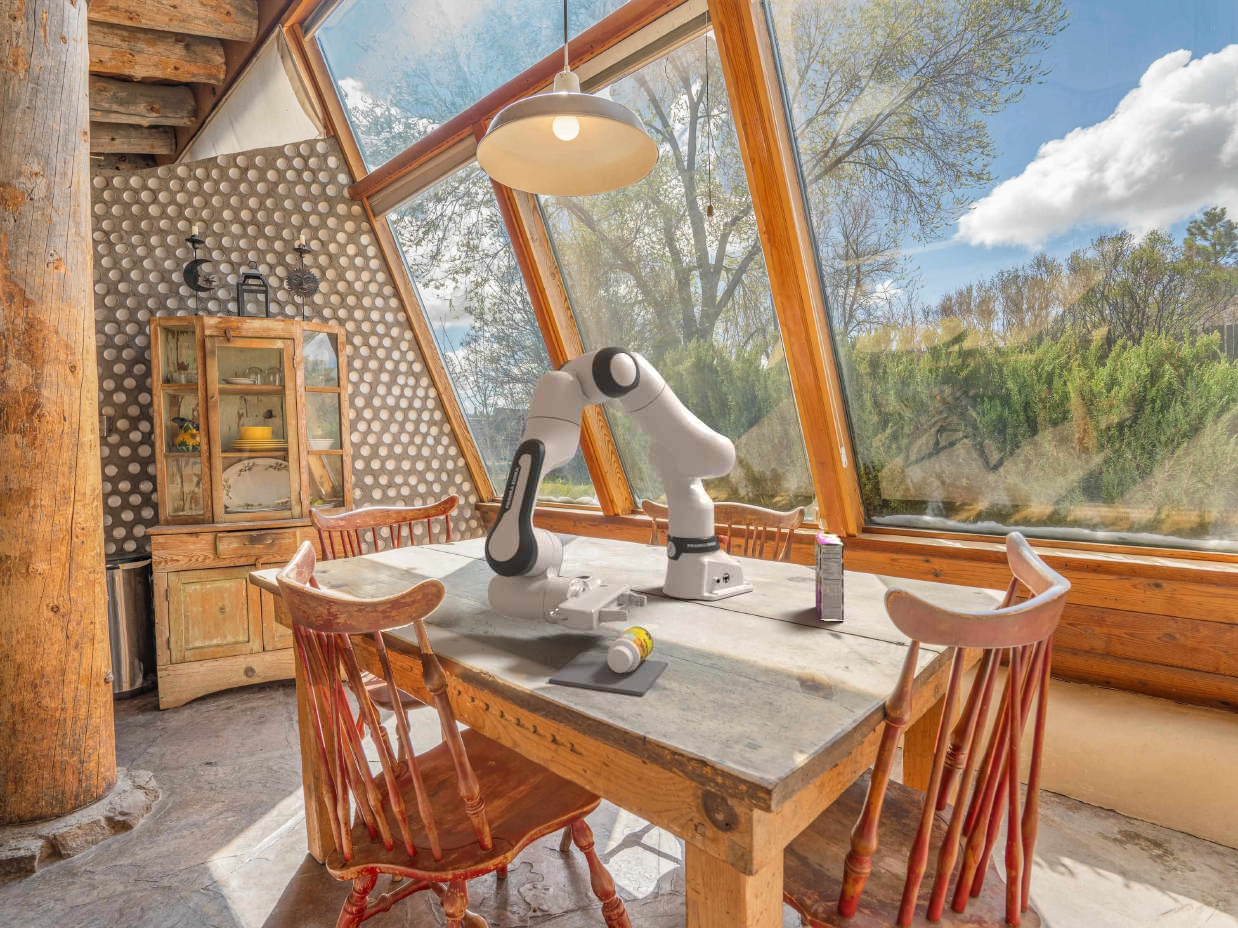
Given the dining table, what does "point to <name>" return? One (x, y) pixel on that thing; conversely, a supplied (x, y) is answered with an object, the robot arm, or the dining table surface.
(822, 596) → the candy bar box
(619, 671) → the supplement bottle
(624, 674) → the mat
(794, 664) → the dining table surface
